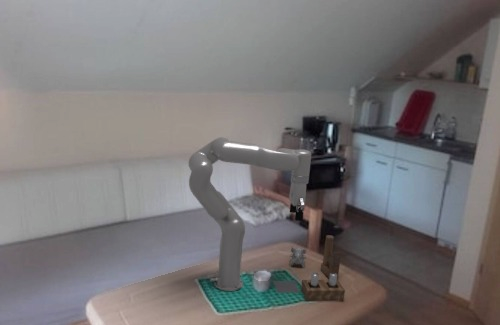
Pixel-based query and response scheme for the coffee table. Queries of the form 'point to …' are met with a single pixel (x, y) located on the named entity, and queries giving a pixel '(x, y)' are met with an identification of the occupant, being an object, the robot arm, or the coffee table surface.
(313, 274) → the peg
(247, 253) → the coffee table surface
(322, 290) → the hole block
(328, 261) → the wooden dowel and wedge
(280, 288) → the mat
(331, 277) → the seated peg
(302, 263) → the gray elephant figurine
